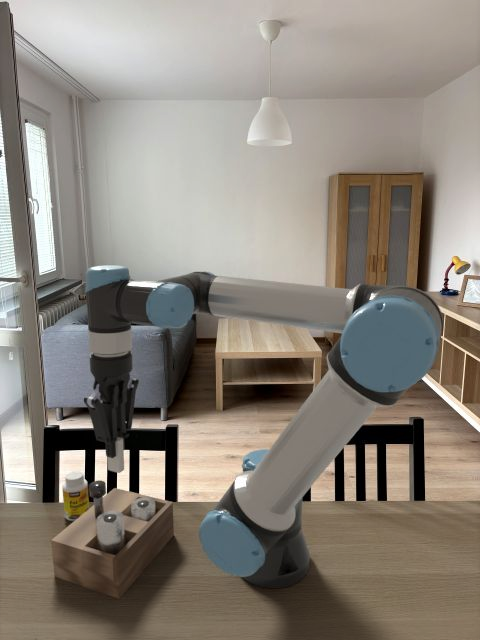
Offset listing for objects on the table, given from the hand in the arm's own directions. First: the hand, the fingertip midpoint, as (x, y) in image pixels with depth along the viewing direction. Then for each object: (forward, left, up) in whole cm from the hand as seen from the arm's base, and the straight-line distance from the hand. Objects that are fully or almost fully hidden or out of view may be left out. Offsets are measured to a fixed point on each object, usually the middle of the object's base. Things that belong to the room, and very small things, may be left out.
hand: (116, 469), depth 97 cm
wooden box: (+2, -2, -21) cm, 21 cm away
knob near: (-1, +3, -17) cm, 18 cm away
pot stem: (+6, -2, -13) cm, 14 cm away
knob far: (-1, -8, -21) cm, 22 cm away
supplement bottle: (+19, -10, -21) cm, 30 cm away
